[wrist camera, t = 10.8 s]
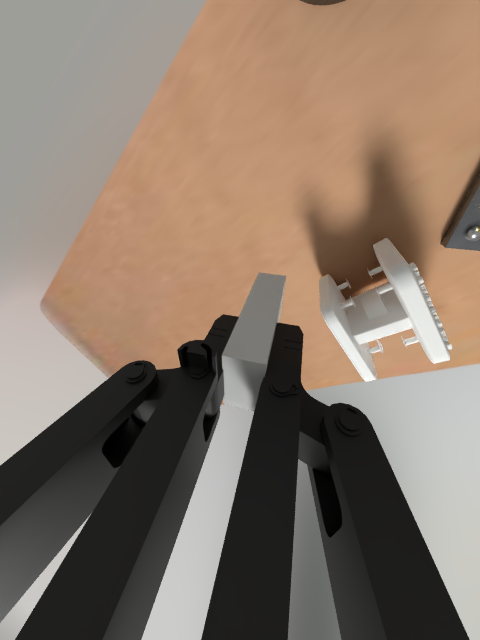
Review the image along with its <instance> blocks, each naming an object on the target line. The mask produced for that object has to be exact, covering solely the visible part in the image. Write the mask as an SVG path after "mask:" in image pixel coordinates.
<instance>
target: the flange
mask: <svg viewBox="0 0 480 640" xmlns="http://www.w3.org/2000/svg"><path fill="white" fill-rule="evenodd" d="M441 245H443V246H444V247H445V248H455V249H466V250H477V251H480V170H479V172H478V174H477V176H476V178H475V180H474V182H473V184H472V185H471V187H470V189H469V191H468V193H467V195H466V197H465V199H464V201H463V202H462V204H461V206H460V208H459V210H458V212H457V214H456V216H455V217H454V219H453V221H452V223H451V225H450V227H449V229H448V231H447V233H446V234H445V236H444V238H443V240H442V242H441Z"/></svg>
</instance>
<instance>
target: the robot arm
mask: <svg viewBox="0 0 480 640" xmlns="http://www.w3.org/2000/svg"><path fill="white" fill-rule="evenodd" d="M301 1H303V2H305V3H308V4H313V5H330V4H335V3H339V2H342V1H345V0H301ZM285 281H286V276H282V275H274V274H266V273H258V276H257V278H256V280H255V282H254V284H253V287H252V289H251V291H250V293H249V296H248V298H247V300H246V302H245V305H244V307H243V309H242V311H241V314H240V316H239V317H236V316H230V315H224V314H223V315H222V316H221V317H219V318H218V319H216V320H215V322H214V324H213V326H212V328H211V329H210V331H209V333H208V335H207V336H206V338H205V340H194V341H189V342H187V343H185V344H183V345H182V346H181V347H180V348H179V349H178V355H179V360H180V365H181V367H179V368H175V369H163V370H156V368H155V366H154V365H153V364H152V363H151V362H148V361H144V360H143V361H135V362H132V363H129V364H127V365H126V366H124V367H122V368H121V369H120V370H119V371H117V372H116V373H115V374H114V375H112V376H111V377H110V378H109V379H108V380H107V381H105V382H104V383H102V384H101V385H100V386H99V387H98V388H96V389H95V390H94V391H92V392H91V393H90V394H89V395H88V396H86V397H85V398H84V399H83V400H81V401H80V402H79V403H78V404H76V405H75V406H74V407H73V408H71V409H70V410H69V411H68V412H66V413H65V414H64V415H63V416H61V417H60V418H59V419H58V420H57V421H56V422H54V423H53V424H51V425H50V426H49V427H48V428H47V429H45V430H44V431H43V432H42V433H40V434H39V435H38V436H37V437H35V438H34V439H33V440H32V441H30V442H29V443H28V444H27V445H25V446H24V447H23V448H22V449H20V450H19V451H18V452H17V453H16V454H14V455H13V456H12V457H10V458H9V459H8V460H7V461H6V462H4V463H3V464H2V465H1V466H0V622H1V621H2V620H3V619H4V617H5V616H6V615H7V614H8V613H9V611H10V610H11V609H12V608H13V607H14V605H15V604H16V603H17V602H18V601H19V599H20V598H21V597H22V596H23V595H24V593H25V592H26V591H27V590H28V588H29V587H30V586H31V585H32V584H33V583H34V581H35V580H36V579H37V578H38V577H39V575H40V574H41V573H42V572H43V570H44V569H45V568H46V567H47V566H48V564H49V563H50V562H51V561H52V560H53V558H54V557H55V556H56V555H57V554H58V553H59V551H60V550H61V549H62V548H63V547H64V545H65V544H66V543H67V541H68V540H69V539H70V538H71V537H72V536H73V534H74V533H75V532H76V531H77V530H78V528H79V527H80V526H81V525H82V524H83V522H84V521H85V520H86V519H87V518H88V516H89V515H90V514H91V513H92V514H91V515H90V517H89V519H88V520H87V522H86V524H85V525H84V527H83V529H82V530H81V532H80V534H79V535H78V537H77V539H76V540H75V542H74V544H73V545H72V547H71V548H70V550H69V552H68V553H67V555H66V557H65V558H64V560H63V562H62V563H61V565H60V567H59V568H58V570H57V571H56V573H55V575H54V576H53V578H52V580H51V582H50V583H49V585H48V587H47V588H46V590H45V591H44V593H43V595H42V596H41V598H40V599H39V601H38V603H37V605H36V606H35V608H34V609H33V611H32V613H31V614H30V616H29V618H28V619H27V621H26V623H25V624H24V626H23V627H22V629H21V631H20V633H19V634H18V636H17V637H16V639H15V640H141V638H142V636H143V633H144V630H145V627H146V624H147V621H148V619H149V616H150V613H151V610H152V607H153V604H154V602H155V598H156V596H157V593H158V590H159V587H160V584H161V582H162V579H163V576H164V573H165V570H166V567H167V564H168V562H169V559H170V556H171V553H172V550H173V547H174V544H175V542H176V539H177V536H178V533H179V530H180V527H181V525H182V522H183V519H184V516H185V513H186V510H187V508H188V505H189V502H190V499H191V496H192V493H193V490H194V488H195V485H196V482H197V479H198V476H199V473H200V471H201V468H202V465H203V462H204V459H205V456H206V453H207V451H208V448H209V445H210V442H211V439H212V436H213V433H214V431H215V428H216V425H217V422H218V419H219V415H220V405H221V402H222V400H223V397H224V404H227V405H231V406H236V407H239V408H243V409H248V410H252V411H254V415H253V420H252V424H251V428H250V433H249V437H248V441H247V446H246V450H245V454H244V458H243V463H242V467H241V471H240V476H239V480H238V484H237V488H236V493H235V497H234V502H233V506H232V510H231V514H230V518H229V523H228V527H227V531H226V536H225V540H224V544H223V548H222V553H221V558H220V562H219V566H218V570H217V574H216V579H215V583H214V587H213V591H212V596H211V600H210V604H209V609H208V613H207V617H206V621H205V626H204V630H203V634H202V639H201V640H287V639H288V622H289V605H290V588H291V571H292V553H293V536H294V519H295V502H296V484H297V468H298V459H300V460H301V461H303V462H304V463H306V464H307V465H308V471H309V476H310V481H311V486H312V491H313V496H314V501H315V506H316V511H317V517H318V522H319V527H320V532H321V537H322V542H323V546H324V552H325V557H326V562H327V567H328V572H329V578H330V583H331V588H332V593H333V598H334V603H335V608H336V613H337V618H338V623H339V629H340V634H341V639H342V640H469V637H468V636H467V633H466V631H465V629H464V627H463V624H462V622H461V620H460V618H459V616H458V613H457V611H456V609H455V607H454V605H453V602H452V600H451V598H450V596H449V594H448V591H447V589H446V587H445V585H444V582H443V580H442V578H441V576H440V574H439V571H438V569H437V567H436V565H435V563H434V560H433V559H432V556H431V554H430V552H429V549H428V547H427V545H426V543H425V541H424V538H423V537H422V534H421V532H420V530H419V528H418V525H417V523H416V521H415V519H414V516H413V514H412V512H411V510H410V508H409V506H408V503H407V501H406V499H405V497H404V495H403V493H402V490H401V488H400V486H399V484H398V482H397V479H396V477H395V475H394V472H393V470H392V468H391V466H390V464H389V462H388V459H387V457H386V455H385V453H384V451H383V448H382V446H381V444H380V442H379V440H378V438H377V435H376V433H375V431H374V429H373V426H372V424H371V423H370V421H369V420H368V418H367V417H366V415H365V414H363V413H362V412H361V411H360V410H359V409H357V408H355V407H353V406H351V405H349V404H344V403H337V404H332V405H331V406H327V405H325V404H323V403H321V402H319V401H317V400H316V399H314V398H313V397H311V396H310V395H309V394H308V393H307V392H306V391H305V389H304V388H303V386H302V383H301V364H302V348H303V333H302V331H301V329H300V327H299V326H295V325H289V324H283V323H279V320H280V315H281V308H282V301H283V294H284V288H285Z"/></svg>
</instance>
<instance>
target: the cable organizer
mask: <svg viewBox="0 0 480 640" xmlns="http://www.w3.org/2000/svg"><path fill="white" fill-rule="evenodd" d="M373 248H374V252H375V254H376V257H377V259H378V261H379V263H380V265H381V266H379V267H377V268H375V269H373V270H371V271H369V270H368V273H369V275H370V276H371V278H372V275H374V274H376V273H379V272H381V271H384V273H385V275H386V277H387V279H388V281H389V282H387V283H385V284H382V285H380V286H378V287H376V286H375V288H373V289H371V290H368V291H366V292H364V293H361V294H359V295H357V296H354V297H352V298H351V296H350V299H347V300H345V298H344V296H343V295H342V293H341V291H340V290H341V289H344V288H346V287H348V286H349V288H351V287H350V284H349V282H348V281H347V282H345V283H343V284H341V285H339V286H337V285H336V283H335V281H334V280H333V278H332V277H331V276H330V275H329V274H327V275H325V276H323V277H321V278H320V279H319V293H320V310H321V313H322V316H323V318H324V320H325V322H326V324H327V326H328V327H329V329H330V330H331V332H332V333H333V335H334V336H335V338H336V339H337V341H338V342H339V344H340V345H341V347H342V348H343V350H344V351H345V353H346V354H347V356H348V357H349V359H350V360H351V362H352V363H353V365H354V366H355V368H356V369H357V371H358V372H359V374H360V375H361V377H362V378H363V379H364V380H365V381H366V382H367V381H372V380H376V379H377V373H376V370H375V366H374V362H373V359H372V355H371V354H372V353H375V352H378V351H382V353H383V346H382V344H381V343H380V342H379V341H378V340H377V339H379V338H382V337H385V336H389V335H392V334H395V333H398V332H401V331H404V330H407V329H411V328H412V329H413V331H414V333H415V335H416V336H415V337H412V338H408V339H405V340H403V338H402V336H401V338H402V341H403V343H404V345H405V346H406V345H409V344H412V343H416V342H420V344H421V346H422V348H423V350H424V351H425V353H426V355H427V356H428V358H429V359H430V360H431V362H432V363H434V364H435V363H439V362H443V361H447V360H450V354H449V351H448V350H450V349H452V346H451V344H450V343H449V342H448V339H447V337H446V334H445V330H444V329H443V327H442V326H443V325H442V323H441V321H440V320H439V318H438V315H436V314H437V313H436V310H435V308H434V307H433V304H432V302H431V299H430V296H429V294H427V293H428V292H427V290H426V287H425V285H424V284H423V283H424V281H423V279H422V277H421V276H420V273H419V271H417V270H418V268H417V266H416V265H415V264H414V262H412V263H410V264H408V263H407V262H406V260H405V259H404V258H403V256H402V255H401V254H400V253H399V252H398V250H397V249H396V248H395V246H394V245H393V244H392V243H391V241H390V240H389V239H388V238H385V239H383V240H381V241H379V242H377V243H375V244H374V245H373ZM367 269H368V268H367ZM346 280H347V279H346ZM373 340H377V342H378V346H376V347H373V348H370V347H369V344H368V342H370V341H373Z"/></svg>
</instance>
